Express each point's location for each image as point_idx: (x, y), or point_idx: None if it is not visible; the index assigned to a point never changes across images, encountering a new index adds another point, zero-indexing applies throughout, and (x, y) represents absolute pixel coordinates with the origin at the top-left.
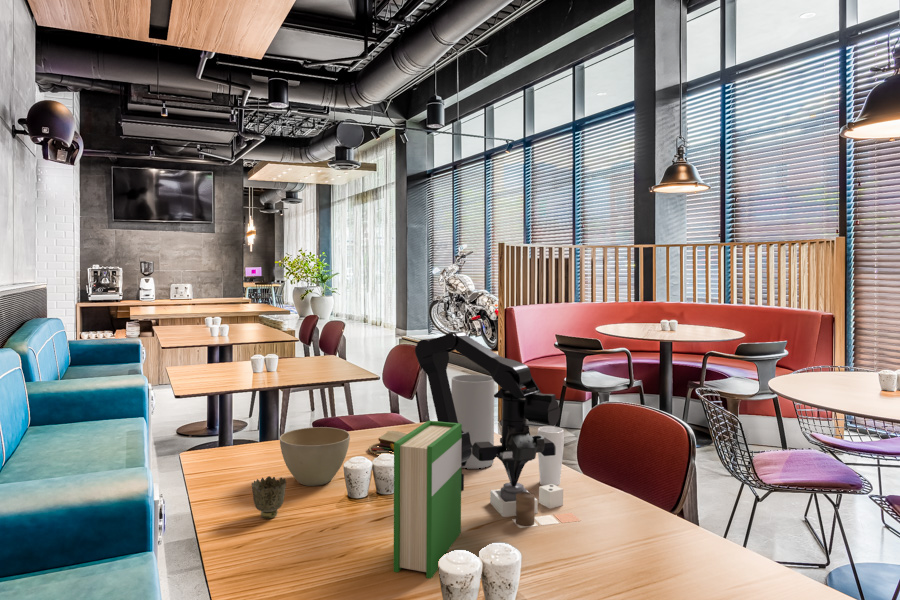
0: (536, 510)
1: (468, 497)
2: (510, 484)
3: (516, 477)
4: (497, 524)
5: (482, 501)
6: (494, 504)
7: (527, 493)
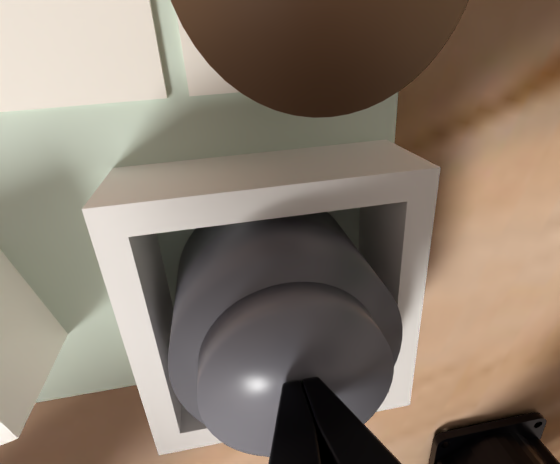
0: (116, 176)
1: (419, 421)
2: None
3: (308, 459)
4: (425, 91)
5: None
6: None
7: (265, 31)
